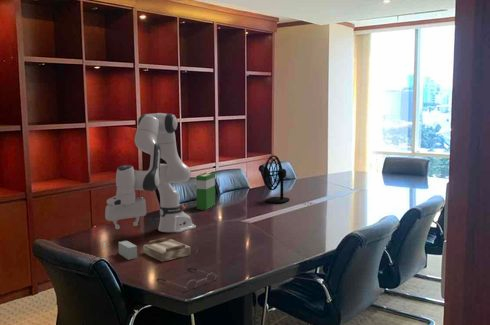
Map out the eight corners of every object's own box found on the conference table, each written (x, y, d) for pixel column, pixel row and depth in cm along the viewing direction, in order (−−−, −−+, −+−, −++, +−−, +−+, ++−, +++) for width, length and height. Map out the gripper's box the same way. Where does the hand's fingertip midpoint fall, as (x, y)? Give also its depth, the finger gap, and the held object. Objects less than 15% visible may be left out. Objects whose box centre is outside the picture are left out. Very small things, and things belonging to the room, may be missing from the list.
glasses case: (127, 252, 238) (127, 240, 237) (137, 258, 228) (136, 246, 228) (118, 253, 235) (118, 242, 234) (128, 260, 226) (128, 247, 225)
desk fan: (273, 197, 379) (274, 153, 375) (294, 199, 371) (294, 154, 367) (258, 203, 356) (258, 156, 352) (279, 205, 347) (279, 158, 343)
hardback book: (205, 204, 351) (205, 172, 348) (215, 205, 349) (214, 172, 346) (196, 209, 334) (196, 176, 331) (206, 210, 332) (206, 176, 329)
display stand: (171, 246, 246) (171, 236, 246) (190, 254, 233) (190, 243, 232) (143, 252, 236) (143, 242, 235) (162, 261, 223) (162, 250, 222)
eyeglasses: (185, 293, 187) (185, 283, 186) (156, 282, 199) (155, 273, 199) (218, 280, 200) (217, 271, 200) (188, 271, 213) (188, 262, 212)
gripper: (142, 195, 237) (142, 222, 239) (103, 200, 224) (104, 229, 226) (148, 197, 233) (149, 225, 234) (109, 202, 219) (109, 231, 221)
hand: (126, 227), depth 230 cm, fingers open, 8 cm apart
